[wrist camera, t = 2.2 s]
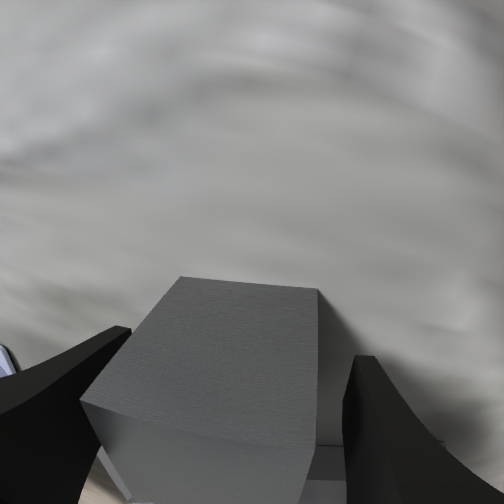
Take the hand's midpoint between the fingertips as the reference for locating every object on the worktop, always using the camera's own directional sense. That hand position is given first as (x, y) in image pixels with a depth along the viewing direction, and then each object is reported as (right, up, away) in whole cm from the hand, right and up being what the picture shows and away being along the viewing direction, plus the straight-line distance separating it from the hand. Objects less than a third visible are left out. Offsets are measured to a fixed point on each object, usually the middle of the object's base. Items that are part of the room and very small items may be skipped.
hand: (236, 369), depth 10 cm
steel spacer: (0, +1, +2) cm, 2 cm away
